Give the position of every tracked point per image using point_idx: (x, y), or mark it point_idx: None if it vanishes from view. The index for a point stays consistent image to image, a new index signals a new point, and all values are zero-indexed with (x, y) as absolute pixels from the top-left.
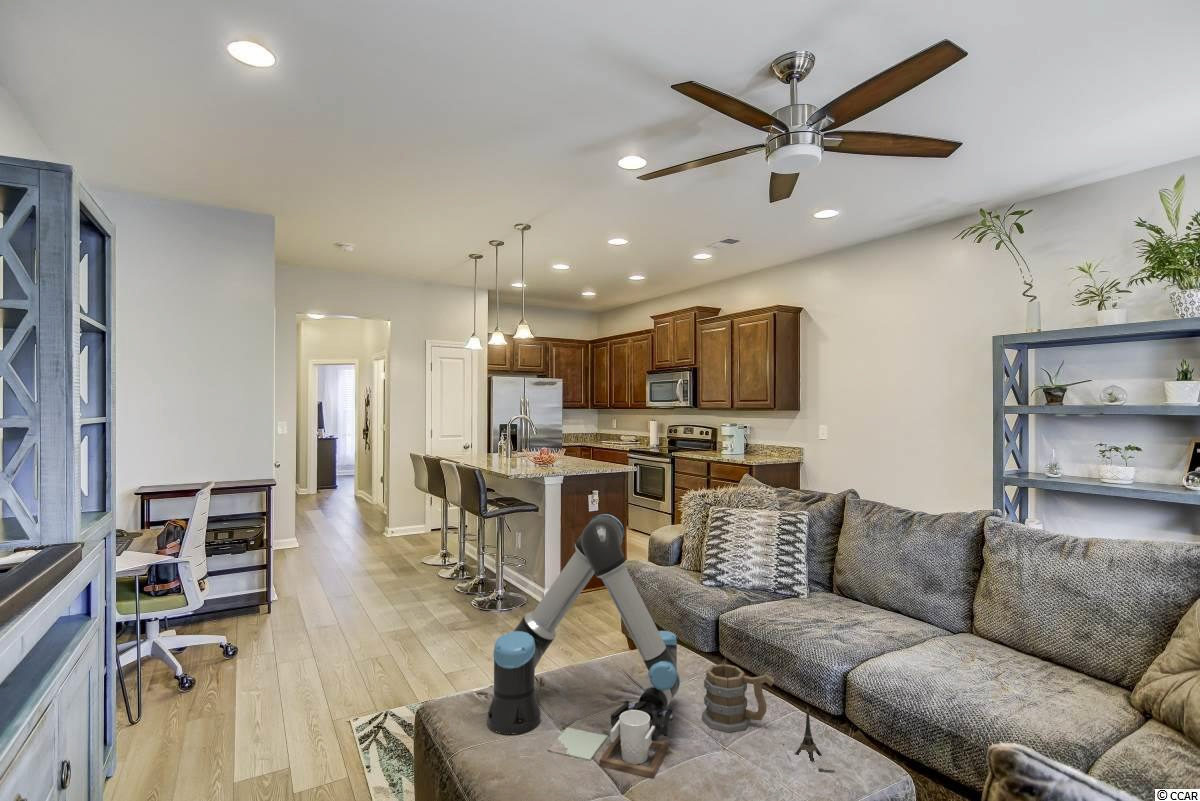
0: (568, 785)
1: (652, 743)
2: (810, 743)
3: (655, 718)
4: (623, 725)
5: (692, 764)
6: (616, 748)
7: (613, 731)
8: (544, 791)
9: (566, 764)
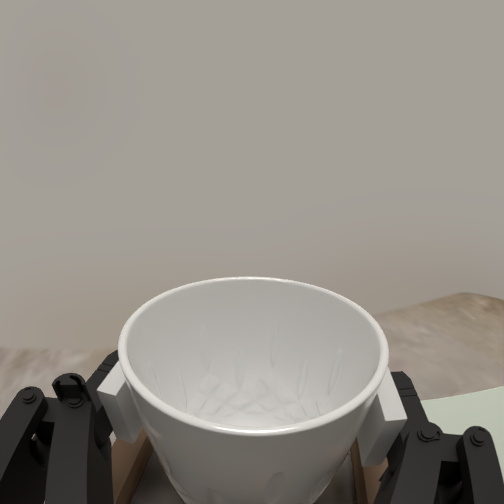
0: (380, 326)
1: None
2: None
3: (68, 500)
4: (308, 300)
5: None
6: (360, 501)
7: None
8: (404, 307)
9: (445, 371)
